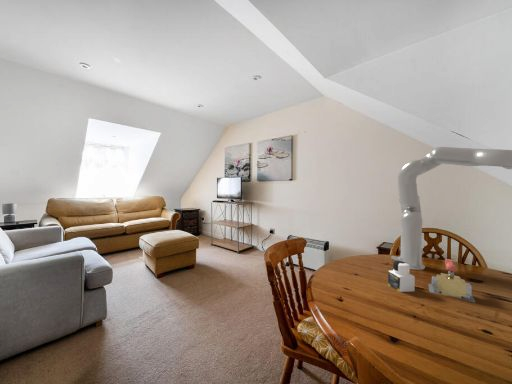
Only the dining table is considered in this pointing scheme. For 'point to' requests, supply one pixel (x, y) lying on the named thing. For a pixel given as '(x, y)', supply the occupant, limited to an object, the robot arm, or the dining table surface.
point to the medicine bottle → (401, 277)
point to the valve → (451, 285)
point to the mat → (450, 296)
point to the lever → (450, 265)
